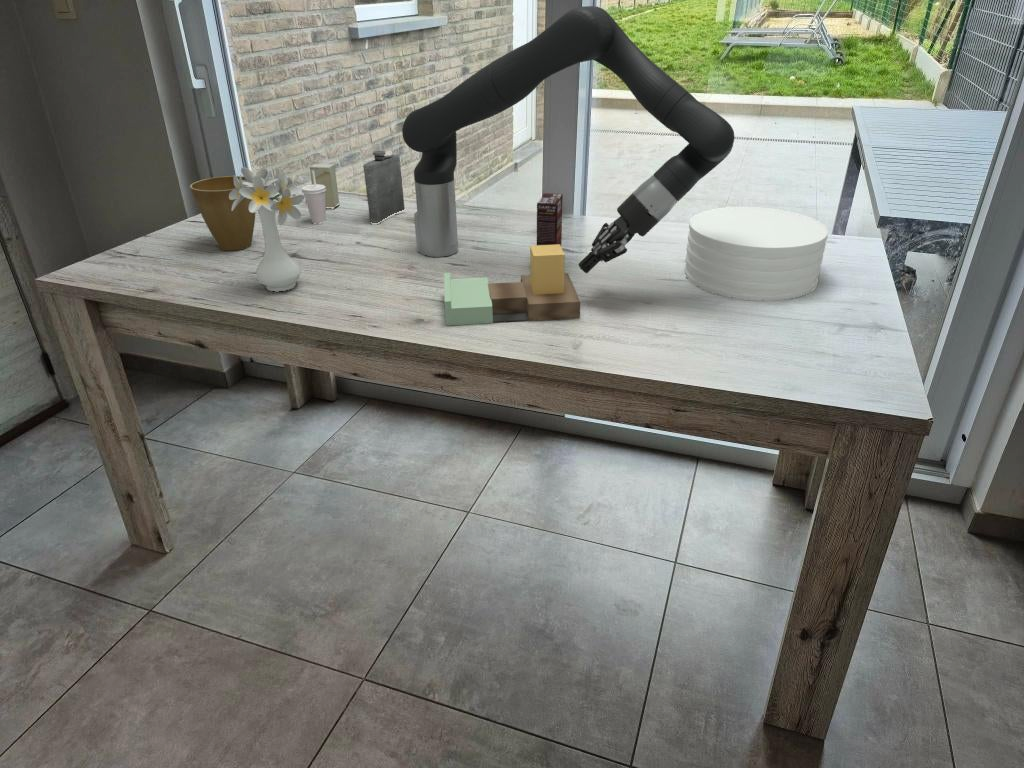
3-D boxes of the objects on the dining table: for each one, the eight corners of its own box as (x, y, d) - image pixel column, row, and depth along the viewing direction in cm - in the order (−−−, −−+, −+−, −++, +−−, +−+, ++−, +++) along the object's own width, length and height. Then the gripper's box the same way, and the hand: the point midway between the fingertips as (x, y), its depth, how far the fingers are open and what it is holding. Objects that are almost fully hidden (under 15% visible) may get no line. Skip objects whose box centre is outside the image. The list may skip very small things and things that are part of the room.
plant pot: (242, 258, 170) (228, 192, 162) (192, 252, 174) (176, 188, 166) (279, 239, 182) (267, 177, 174) (231, 234, 186) (217, 173, 178)
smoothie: (327, 225, 191) (319, 173, 184) (304, 226, 191) (295, 174, 184) (333, 218, 197) (325, 167, 190) (310, 218, 197) (302, 168, 190)
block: (559, 281, 144) (559, 244, 140) (563, 293, 139) (564, 254, 135) (530, 283, 144) (530, 245, 140) (533, 294, 138) (533, 256, 134)
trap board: (567, 288, 150) (567, 273, 148) (579, 318, 137) (580, 301, 135) (487, 292, 149) (486, 277, 147) (491, 323, 136) (491, 306, 134)
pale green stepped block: (488, 292, 149) (487, 270, 146) (492, 322, 136) (492, 299, 133) (445, 295, 148) (444, 272, 145) (446, 325, 135) (444, 301, 133)
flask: (365, 223, 192) (357, 156, 183) (396, 209, 203) (389, 145, 194) (376, 225, 191) (368, 157, 182) (406, 211, 202) (400, 146, 193)
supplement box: (556, 274, 157) (557, 204, 149) (535, 273, 158) (535, 203, 150) (562, 261, 164) (563, 193, 156) (541, 260, 165) (542, 192, 157)
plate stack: (739, 311, 139) (748, 255, 133) (659, 265, 161) (664, 216, 155) (846, 287, 148) (858, 234, 142) (756, 247, 171) (764, 200, 165)
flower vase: (291, 306, 144) (268, 183, 132) (232, 288, 153) (205, 172, 141) (336, 285, 154) (319, 169, 141) (279, 270, 163) (257, 159, 150)
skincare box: (314, 209, 205) (308, 166, 199) (320, 204, 209) (314, 163, 203) (335, 209, 204) (328, 167, 198) (340, 205, 208) (334, 163, 202)
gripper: (626, 183, 139) (563, 246, 144) (643, 202, 127) (574, 269, 133) (650, 209, 142) (588, 269, 147) (669, 229, 130) (601, 293, 136)
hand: (582, 269), depth 140 cm, fingers closed
